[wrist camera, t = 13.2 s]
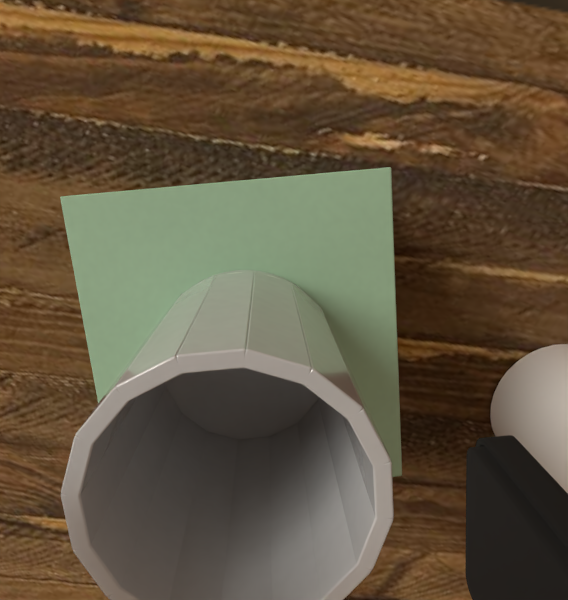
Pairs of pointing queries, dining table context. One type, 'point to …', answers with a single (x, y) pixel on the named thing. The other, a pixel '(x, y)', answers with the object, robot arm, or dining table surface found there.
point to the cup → (231, 456)
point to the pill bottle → (537, 408)
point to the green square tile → (245, 265)
